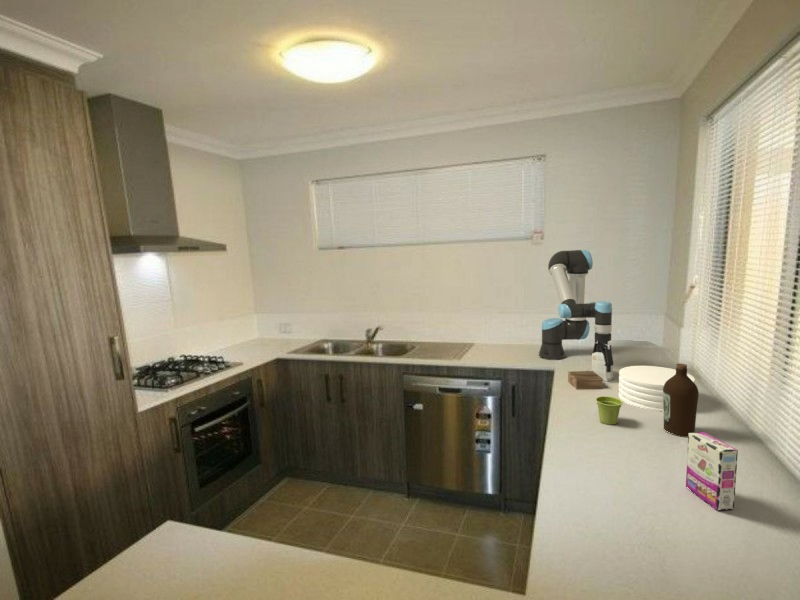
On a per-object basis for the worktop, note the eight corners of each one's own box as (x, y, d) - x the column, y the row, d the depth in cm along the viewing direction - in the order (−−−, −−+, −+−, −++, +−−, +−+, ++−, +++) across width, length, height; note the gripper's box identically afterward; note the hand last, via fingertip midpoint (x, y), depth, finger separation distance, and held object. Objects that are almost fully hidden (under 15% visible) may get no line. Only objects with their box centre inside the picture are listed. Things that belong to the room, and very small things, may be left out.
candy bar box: (735, 510, 108) (739, 449, 106) (717, 511, 107) (721, 451, 105) (701, 485, 119) (704, 430, 117) (684, 487, 118) (687, 432, 116)
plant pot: (619, 418, 165) (620, 397, 164) (624, 428, 157) (624, 406, 156) (594, 416, 169) (594, 395, 167) (596, 425, 160) (597, 403, 159)
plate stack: (698, 397, 183) (700, 372, 182) (686, 418, 163) (688, 390, 162) (628, 385, 202) (629, 362, 201) (610, 402, 182) (610, 377, 181)
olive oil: (692, 427, 155) (695, 361, 152) (700, 439, 146) (703, 369, 142) (658, 423, 159) (661, 359, 156) (664, 435, 149) (667, 367, 146)
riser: (567, 381, 211) (567, 371, 211) (592, 380, 211) (592, 371, 210) (576, 389, 199) (576, 379, 198) (603, 389, 198) (603, 378, 198)
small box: (613, 379, 212) (613, 353, 210) (607, 381, 208) (607, 356, 206) (597, 375, 218) (597, 351, 216) (591, 378, 214) (591, 353, 212)
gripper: (586, 328, 222) (585, 367, 225) (605, 337, 198) (604, 381, 201) (600, 327, 222) (599, 367, 224) (622, 337, 198) (620, 381, 200)
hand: (602, 374), depth 213 cm, fingers open, 12 cm apart
